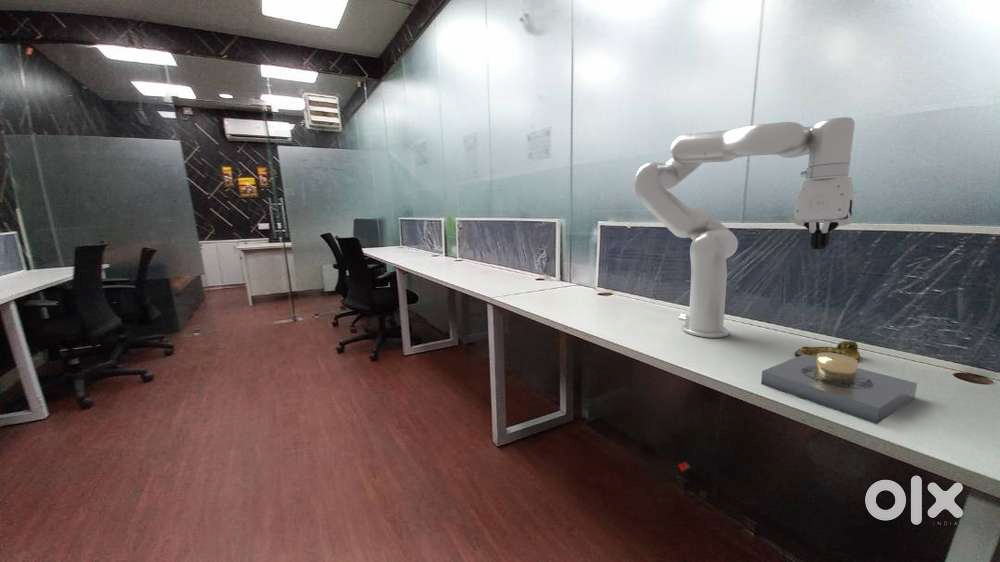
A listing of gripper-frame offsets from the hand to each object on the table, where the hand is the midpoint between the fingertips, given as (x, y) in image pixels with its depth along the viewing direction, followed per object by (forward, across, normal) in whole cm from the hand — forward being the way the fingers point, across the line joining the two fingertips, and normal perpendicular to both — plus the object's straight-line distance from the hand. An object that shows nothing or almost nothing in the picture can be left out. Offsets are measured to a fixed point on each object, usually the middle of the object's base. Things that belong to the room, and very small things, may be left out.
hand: (818, 248), depth 89 cm
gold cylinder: (+27, +13, -21) cm, 36 cm away
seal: (+28, +4, 0) cm, 28 cm away
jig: (+27, +13, -21) cm, 37 cm away
